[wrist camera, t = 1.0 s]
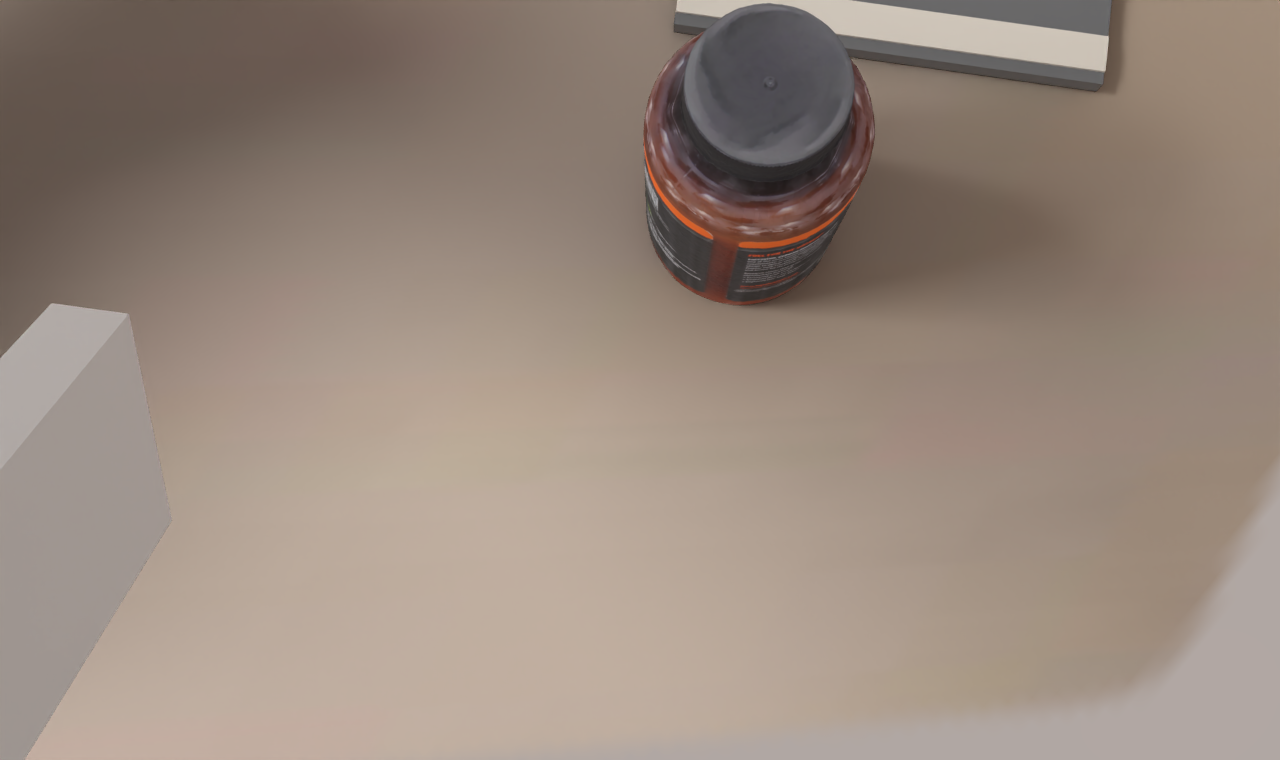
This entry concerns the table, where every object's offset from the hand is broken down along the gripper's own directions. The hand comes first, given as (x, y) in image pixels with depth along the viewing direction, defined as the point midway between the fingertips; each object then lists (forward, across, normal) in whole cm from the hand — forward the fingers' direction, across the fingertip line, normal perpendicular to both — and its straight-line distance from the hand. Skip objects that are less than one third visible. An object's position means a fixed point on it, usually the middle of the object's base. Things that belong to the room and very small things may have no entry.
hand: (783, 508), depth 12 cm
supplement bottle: (+25, 0, -11) cm, 28 cm away
